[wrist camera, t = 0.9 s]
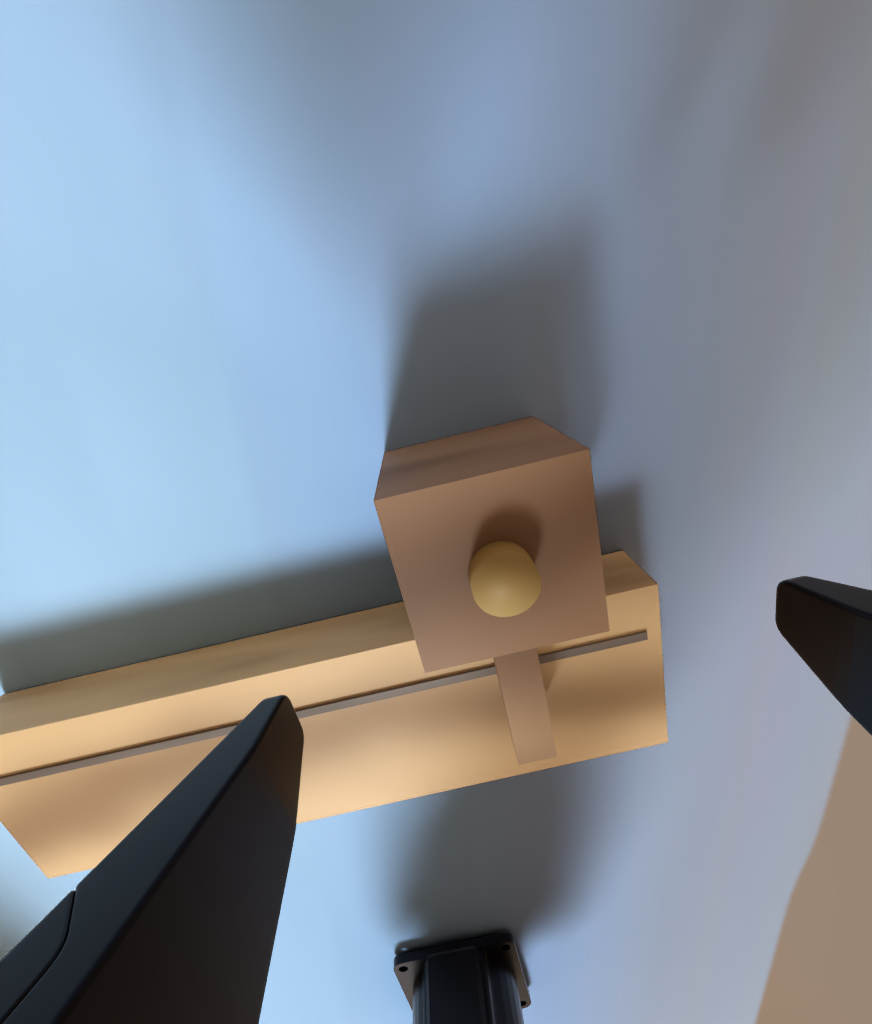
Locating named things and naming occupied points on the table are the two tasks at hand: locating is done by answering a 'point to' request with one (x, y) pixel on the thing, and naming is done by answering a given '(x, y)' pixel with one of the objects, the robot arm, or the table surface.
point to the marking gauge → (496, 556)
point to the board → (316, 720)
